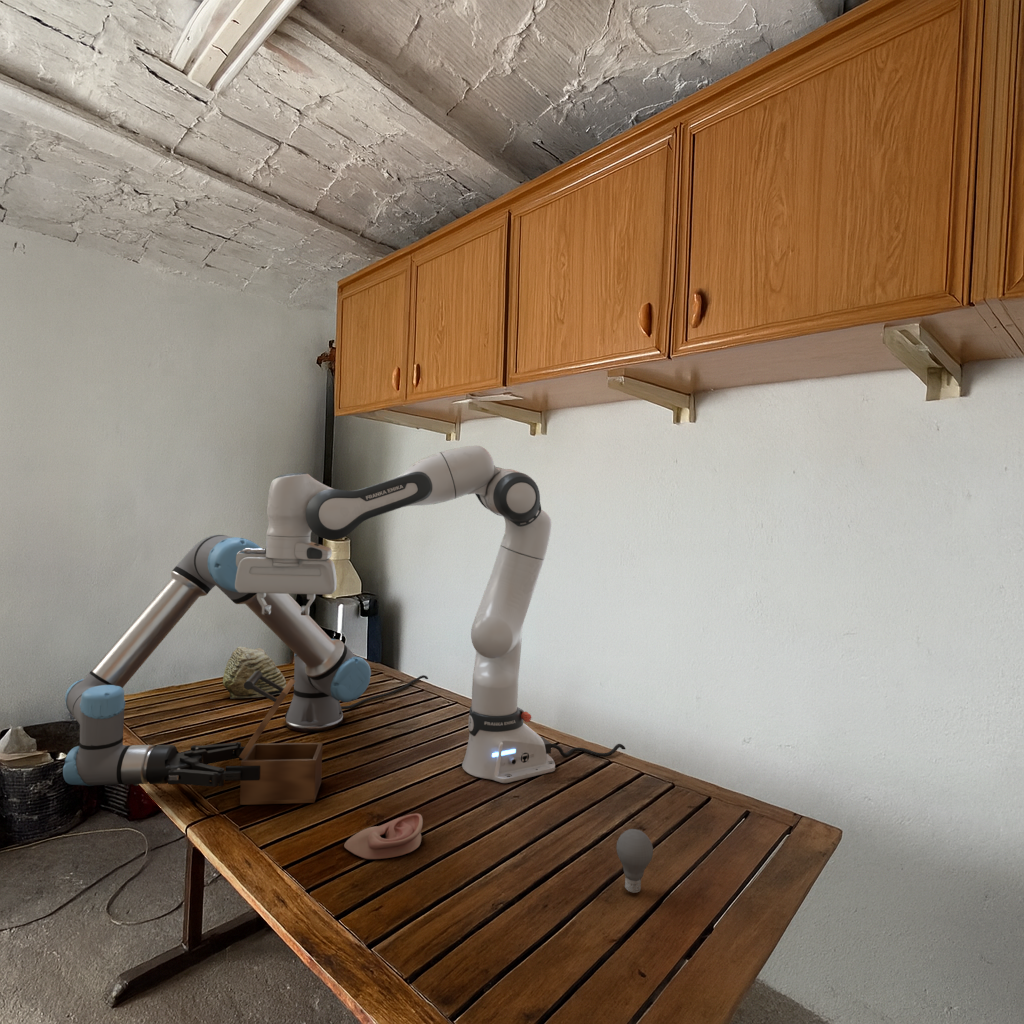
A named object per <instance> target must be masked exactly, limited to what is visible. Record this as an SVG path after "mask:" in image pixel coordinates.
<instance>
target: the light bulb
mask: <svg viewBox="0 0 1024 1024" xmlns="http://www.w3.org/2000/svg"><path fill="white" fill-rule="evenodd" d="M615 849H616V854H617V857H618V859H619V861H620V863H621V865H622V867H623V873H624V874H623V875H624V876H625V878H624V888H625V890H627V891H628V892H630V893H634V894H635V893H639V892H640V891H641V889H642V887H641V886H642V879H643V877H644V875H645V871H646V868H647V867H648V866H649V864H650V863H651V861H652V859H653V855H654V847H653V843H652V841H651V838H649V836H648V835H647V834H646V833H645V832H643V831H642V830H641V829H636V828H629V829H627V830H625V831H623V832H622V833H621V834H620V835H619V837H618V839H617V841H616V847H615Z"/></svg>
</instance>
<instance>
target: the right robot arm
mask: <svg viewBox="0 0 1024 1024" xmlns="http://www.w3.org/2000/svg"><path fill="white" fill-rule="evenodd" d="M494 462H495V461H494V459H493V457H492V455H491V454H490V452H489V451H488V450H487V449H486V448H485V447H483V446H481V445H468V446H460V447H455V448H450V449H445V450H443V451H439V452H437V453H436V452H435V453H433V454H430V455H427V456H425V457H423V458H421V459H419V460H418V461H416V462H414V463H412V464H410V465H409V466H408V467H407V468H406V469H405V470H404V471H403V472H401V473H400V474H399V475H396V476H395V477H393V478H390V479H388V480H385V481H381V482H378V483H376V484H371V485H369V486H366V487H362V488H359V489H354V490H353V489H352V490H345V489H336V488H332V487H330V486H328V485H326V484H324V483H322V482H320V481H318V480H317V479H316V478H314V477H313V476H311V475H310V474H309V473H307V472H292V473H285V474H284V473H283V474H280V475H278V476H276V477H275V478H274V479H273V480H272V481H271V482H270V486H269V489H268V496H267V497H268V498H267V508H266V509H267V510H266V515H267V518H268V527H267V530H266V535H265V537H266V538H265V539H266V540H265V548H264V547H263V548H262V547H261V548H256V549H251V548H244V550H241V551H239V552H238V553H237V555H236V566H237V567H238V569H237V574H236V580H235V589H236V590H237V591H238V592H239V593H257V600H258V601H259V603H260V605H261V606H262V615H269V614H271V610H270V609H271V605H267V603H266V602H265V600H264V597H266V593H281V594H289V595H306V600H308V601H307V602H306V605H301V606H300V607H301V611H302V612H301V615H309V616H310V609H311V608H310V607H311V606H312V604H313V602H315V599H316V595H327V596H329V595H330V596H331V595H332V594H334V593H335V592H336V590H337V587H338V586H337V584H338V583H337V582H338V581H337V580H338V579H337V570H336V565H335V562H334V561H333V560H332V559H331V557H332V556H333V555H332V554H333V550H332V548H331V547H329V546H325V545H323V544H320V543H317V542H314V541H312V539H311V538H312V537H311V536H312V534H315V535H316V536H317V537H319V538H321V539H324V540H329V541H335V540H340V539H343V538H345V537H346V536H348V535H350V534H351V533H352V532H353V531H354V530H355V529H356V528H357V527H358V526H360V525H361V524H362V523H363V522H366V521H367V520H370V519H373V518H375V517H378V516H381V515H384V514H387V513H391V512H392V511H395V510H399V509H402V508H406V507H413V506H432V505H436V504H437V505H438V504H442V503H443V504H444V503H447V502H450V501H453V500H457V499H459V498H462V497H464V496H466V495H475V497H476V498H477V499H478V501H479V502H480V504H481V505H482V506H483V507H484V508H485V509H486V510H488V511H490V512H491V513H493V514H494V515H497V516H499V517H503V519H504V524H505V528H504V534H503V536H502V539H501V542H500V545H499V548H498V551H497V555H496V558H495V561H494V564H493V566H492V570H491V573H490V576H489V578H488V581H487V584H486V586H485V590H484V592H483V595H482V597H481V600H480V603H479V605H478V608H477V611H476V613H475V616H474V619H473V623H472V625H471V628H470V640H471V644H472V646H473V648H474V650H475V658H474V659H475V660H474V666H473V671H472V685H471V704H470V707H469V715H468V720H467V722H468V723H467V725H468V732H469V733H468V740H467V746H466V750H465V754H464V757H463V760H462V762H461V768H462V770H463V771H464V772H466V773H467V774H469V775H470V776H473V777H476V778H479V779H486V780H492V781H494V782H497V783H501V784H508V783H513V782H516V781H520V780H525V779H528V778H532V777H536V776H541V775H544V774H549V773H553V772H555V771H556V763H555V760H554V758H553V757H552V756H550V755H551V753H552V748H553V749H556V750H558V752H559V754H560V755H561V757H562V756H563V758H564V757H565V758H567V757H570V756H571V755H572V754H573V753H575V752H583V753H586V754H588V755H592V756H596V757H600V758H607V757H610V756H613V755H614V754H615V753H616V752H617V750H618V749H619V748H620V749H621V750H626V747H625V745H623V743H617V744H615V745H614V747H613V748H612V749H611V750H609V751H608V752H598V751H594V750H592V749H588V748H586V747H585V748H584V747H579V746H578V747H573V748H571V749H569V750H568V751H567V752H564V750H563V748H562V747H561V746H560V745H557V744H555V743H552V742H550V741H549V740H547V739H546V738H545V737H543V736H540V735H539V734H538V733H537V732H536V731H534V730H533V729H532V728H531V727H530V726H528V725H527V724H526V723H530V721H531V720H532V719H533V717H532V715H531V713H529V712H528V711H524V710H523V709H522V708H521V707H518V699H519V678H520V667H521V666H520V665H521V653H522V643H523V642H522V639H523V627H524V622H525V619H526V616H527V614H528V610H529V608H530V604H531V601H532V598H533V595H534V593H535V589H536V586H537V584H538V581H539V577H540V574H541V571H542V568H543V565H544V562H545V559H546V556H547V552H548V547H549V544H550V538H551V534H552V533H551V532H552V518H551V517H550V515H549V514H548V513H547V512H546V511H544V510H543V509H542V505H541V494H540V489H539V487H538V485H537V482H536V481H535V480H534V479H533V478H532V477H531V476H529V475H528V474H526V473H523V472H520V471H518V470H515V469H512V468H502V467H497V466H496V464H495V463H494ZM241 552H244V553H241ZM254 553H256V554H254ZM549 754H550V755H549Z"/></svg>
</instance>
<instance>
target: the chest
mask: <svg viewBox="0 0 1024 1024" xmlns="http://www.w3.org/2000/svg"><path fill="white" fill-rule="evenodd" d="M323 746H324V745H323V742H277V743H275V742H272V743H270V742H269V743H268V742H267V743H255V744H254V745H253V747H252V748H251V750H250V751H249V753H248V754H247V756H246V757H245V759H244V760H240V761H241V762H240V766H260V779H259V780H246V781H240V789H239V790H240V791H239V805H240V806H249V805H251V806H252V805H253V806H254V805H281V804H282V805H283V804H284V805H285V804H286V805H287V804H314V803H315V802H316V799H317V796H318V793H319V790H320V787H321V784H322V776H323V775H322V773H323V771H322V770H323Z"/></svg>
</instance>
